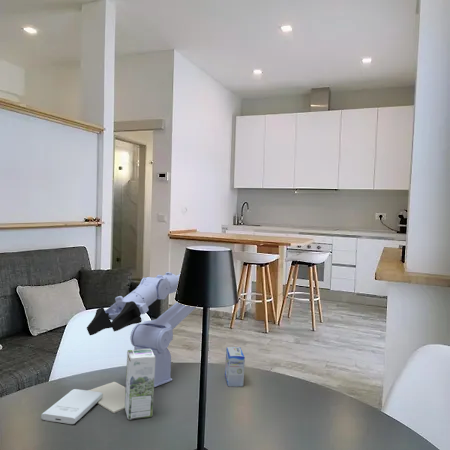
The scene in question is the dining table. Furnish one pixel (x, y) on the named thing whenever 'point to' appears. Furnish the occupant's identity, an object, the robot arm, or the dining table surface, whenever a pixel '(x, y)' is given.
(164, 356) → the robot arm
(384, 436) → the dining table surface
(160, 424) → the dining table surface
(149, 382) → the syrup box
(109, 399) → the mat
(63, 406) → the external hard drive
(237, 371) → the medicine box
